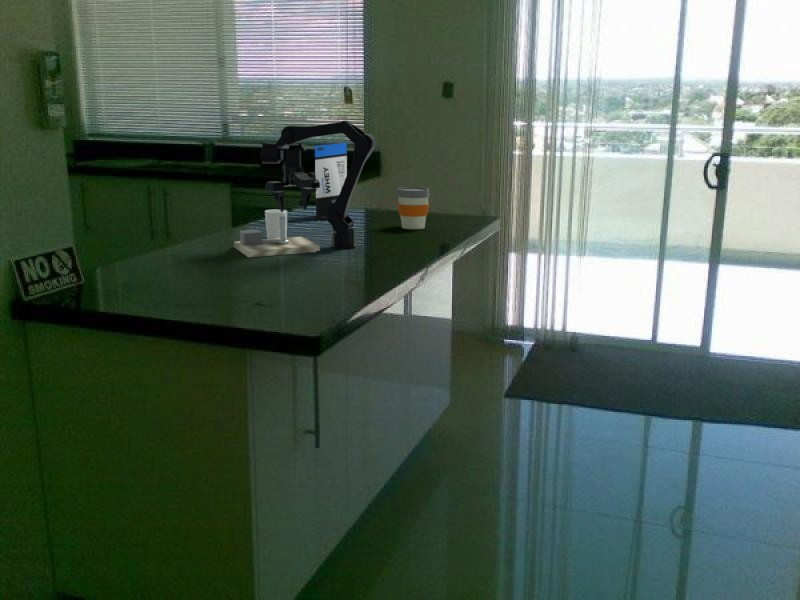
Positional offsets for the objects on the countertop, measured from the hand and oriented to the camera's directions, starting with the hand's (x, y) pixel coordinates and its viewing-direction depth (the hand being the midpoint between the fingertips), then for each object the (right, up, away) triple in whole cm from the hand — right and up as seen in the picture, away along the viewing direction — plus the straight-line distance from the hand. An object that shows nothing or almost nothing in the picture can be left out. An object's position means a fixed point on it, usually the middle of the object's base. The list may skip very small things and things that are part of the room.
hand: (293, 210), depth 270 cm
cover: (-13, -12, -5) cm, 19 cm away
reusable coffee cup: (+41, -2, +41) cm, 58 cm away
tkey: (-5, -11, -5) cm, 14 cm away
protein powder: (+8, +4, +64) cm, 64 cm away
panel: (-5, -14, -5) cm, 15 cm away
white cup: (-8, -9, +15) cm, 19 cm away
